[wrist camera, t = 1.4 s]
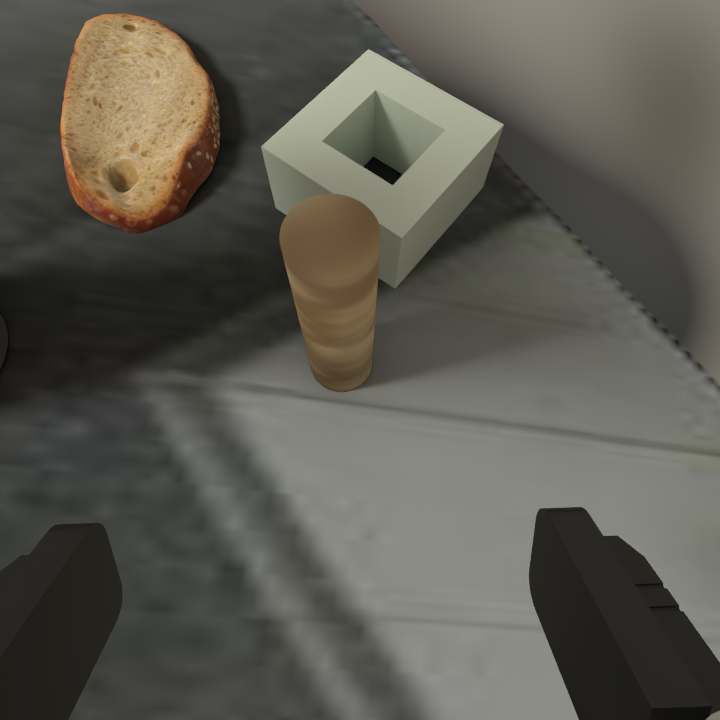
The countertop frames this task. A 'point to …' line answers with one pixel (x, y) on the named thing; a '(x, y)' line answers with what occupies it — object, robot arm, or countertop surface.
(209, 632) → the countertop surface
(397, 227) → the holder
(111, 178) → the slice of bread
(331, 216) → the dowel
